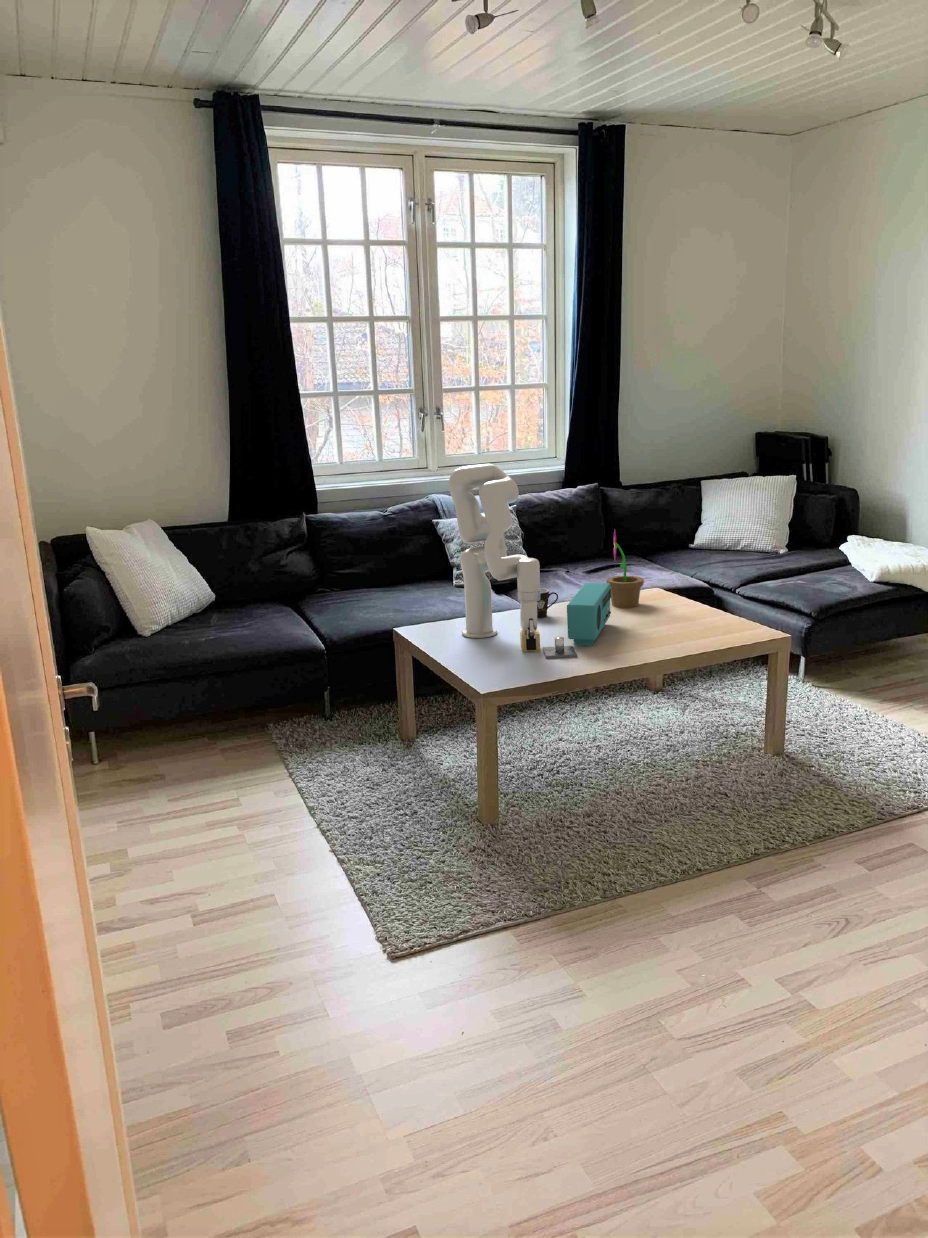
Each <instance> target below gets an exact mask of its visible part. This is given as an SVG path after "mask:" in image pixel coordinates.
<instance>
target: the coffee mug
mask: <svg viewBox="0 0 928 1238" xmlns="http://www.w3.org/2000/svg"><path fill="white" fill-rule="evenodd" d="M551 595H555V596H556V598H555V600H554V601H553V602H552V603H550V604H549V598H550V596H551ZM558 599H559V595H558V593H557V592H555V591H553V592H550V589H548V588H543V587H540V600H539V601H537V619H544V618H546V617H548V610H549V608H551V607H552V606H553V605H555V604H556V602H557V601H558Z"/></svg>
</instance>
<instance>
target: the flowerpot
mask: <svg viewBox="0 0 928 1238" xmlns="http://www.w3.org/2000/svg"><path fill="white" fill-rule="evenodd" d="M613 530H614V531H613V546H614V547H613V558H614V562H616V561H617V549H618V550H619V552H620V555H621V558H622V561H621V564H620V565H619V567H620V568H621V569H623V575H615V576H611V577H608V578H607V579H606V583H609V584H610V586H611V598H610V603H611V606H612V607H614V608H619V609H632V608H636V607H638V606H639V602H640V594H641V587H643V586H644V585H645V579H644V578H643V577H641V576H636V575H627V570H628V568H627V562H626V556H625V554H624V551H623V549H622V548H621V546H620V545H619V544H618V542H617V535H616V533H617V531H616V529H615V528H614V529H613Z"/></svg>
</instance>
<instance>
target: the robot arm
mask: <svg viewBox="0 0 928 1238" xmlns="http://www.w3.org/2000/svg"><path fill="white" fill-rule="evenodd" d="M448 490H449V494H450V497H451V499H452V501H453V504H454V508H455V515H456V521H457V526H458V531H459V537H460V539H461V541H462V542H463V543H465V544H476V543H483V542H484V543H485V544H484V545H478V546H474V547H473V546H472V547H469V548H467V549H465V550H464V551H462V553H461V554H460V559H459V560H460V567H461V573H462V576H463V586H464V587H463V589H464V604H465V605H464V606H465V607H464V610H465V628H464V629H462V630H461V633H462V636H463V637H466V638H470V639H471V638H472V639H484V638H489V637H490V638H491V637H493V636H495V635H497V633H498V629H497V628H495V627H494V626H493V607H492V605H493V604H492V586H491V581H490V580H489V578H488V577H487V574H486V573H490V574H491V576H492V577H493V578H494V579H495V580H497V581H504V580H509V579H515V578H516V580H517V581H516V584H517V601H518V602H520V603H519V605H520V607H519V608H520V610H519V611H520V612H519V613H520V620H519V621H520V627H521V630H523V631H525V630H527V639H526V649H527V650H536V638H535V630H537V629H538V618H537V601H539V600H540V588H541V574H540V573H541V572H540V571H541V570H540V567H541V565H540V561H539V559H537V558H534V557H528V556H526V555H524V554H518V553H517V554H512V555H508V554H507V553H508V552H507V546H506V541H505V535H504V533H505V532H507V531H508V530H509V529H510V528H511V527H512V526H513V524H514V521H513V518H512V514H511V510H510V508H509V505H508V504H512V503H515V502H516V501H517V500H518V499H519V493H520V491H519V488H518V485H517V483H516V482H515V480H513V478H512V477H510V475H508V474H507V473H506V472H505V471H504V470H502V469H501V468H499V466H497V465H495V464H492V463H482V464H481V463H479V464H472V465H471V464H470V465H466V466H461V467H459V468H456V469H454V470H453V471H452V473H450V476H449V479H448ZM475 490H477V491H478V497H479V500H480V502H479V501H478V499H477V498H476V496H475V495H474V493H472V491H475ZM480 503H481V507H482V510H483V513H481V507H480ZM529 632H530V633H529Z"/></svg>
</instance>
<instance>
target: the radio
mask: <svg viewBox="0 0 928 1238" xmlns="http://www.w3.org/2000/svg"><path fill="white" fill-rule="evenodd" d="M611 613H612V611H611V586H610V584H609V583H607V582H585V583H584V584H583V585H582V586H581V587H580V589H579V590H578V591H577V593H576V594H575V595H574V596H573V597H572V598H571V600H569V602H568V604H567V605H566V618H567V619H566V620H567V621H566V622H567V623H566V624H567V638H568V640H573V642H574V644H573V645H581V646H589V647H590V646H591V647H592V646H593V644H594V641H596V640H597V638H598V636H599V635H600V633H601V632H602V630H603V629H604V627H605V626H606V624H607V622H608V620H609V618H610V617H611Z"/></svg>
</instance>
